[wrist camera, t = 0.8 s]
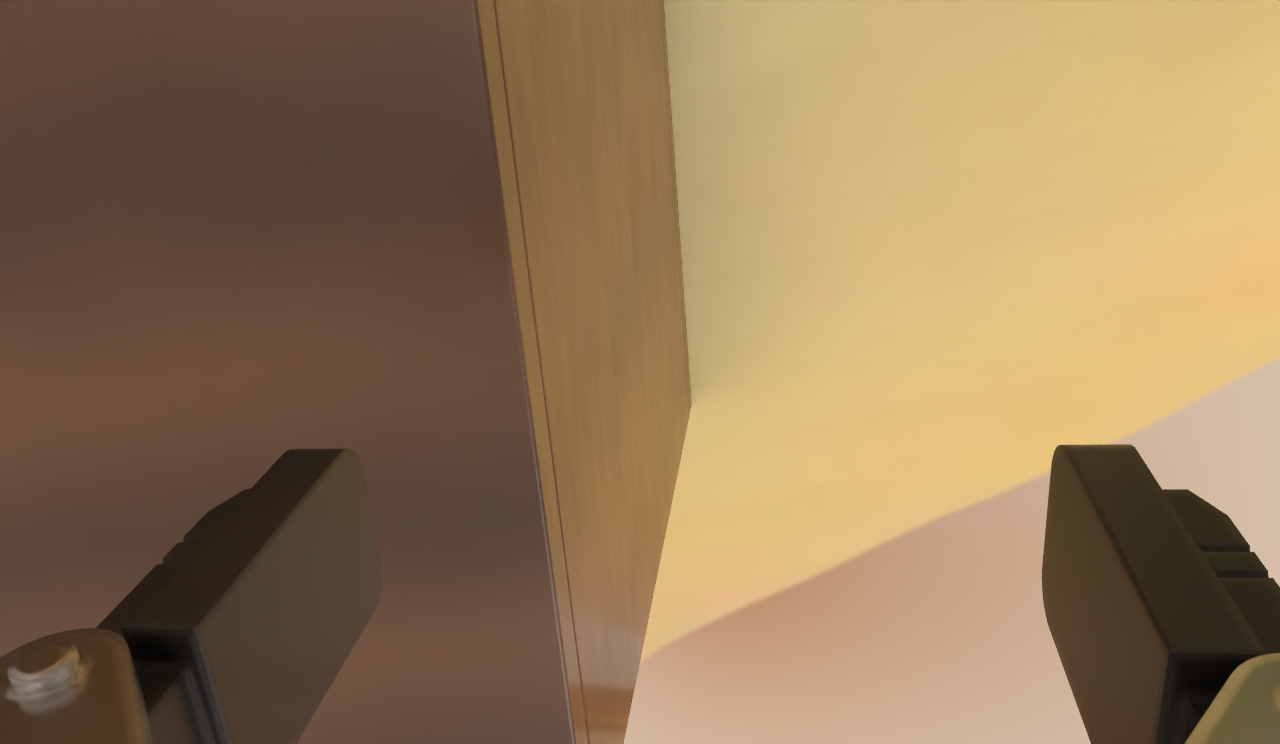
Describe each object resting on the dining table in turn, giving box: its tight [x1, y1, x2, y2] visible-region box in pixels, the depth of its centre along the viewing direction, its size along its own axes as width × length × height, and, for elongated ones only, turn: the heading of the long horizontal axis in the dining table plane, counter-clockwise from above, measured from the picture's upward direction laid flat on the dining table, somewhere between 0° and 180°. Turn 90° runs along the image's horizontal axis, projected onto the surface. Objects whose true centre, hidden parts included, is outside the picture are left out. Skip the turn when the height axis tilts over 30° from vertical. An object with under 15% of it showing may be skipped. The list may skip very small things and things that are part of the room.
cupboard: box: [0, 0, 691, 744], centre depth 31 cm, size 18×26×24 cm
